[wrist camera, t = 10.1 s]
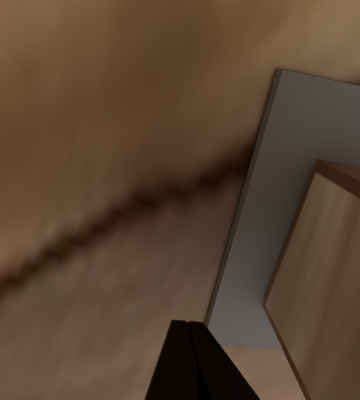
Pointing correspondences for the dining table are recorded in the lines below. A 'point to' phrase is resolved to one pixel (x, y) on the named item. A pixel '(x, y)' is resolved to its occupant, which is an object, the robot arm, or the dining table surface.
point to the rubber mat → (279, 196)
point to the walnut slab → (321, 286)
